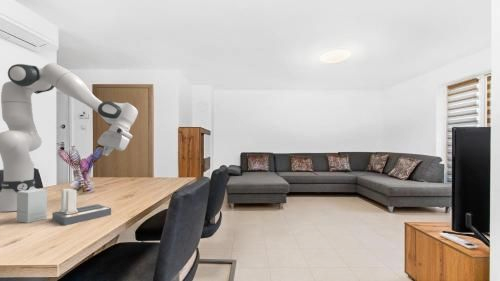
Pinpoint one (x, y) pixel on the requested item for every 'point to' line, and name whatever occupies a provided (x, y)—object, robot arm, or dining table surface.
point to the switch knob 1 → (63, 199)
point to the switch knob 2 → (71, 202)
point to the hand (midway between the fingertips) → (104, 155)
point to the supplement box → (31, 205)
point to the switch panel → (81, 214)
